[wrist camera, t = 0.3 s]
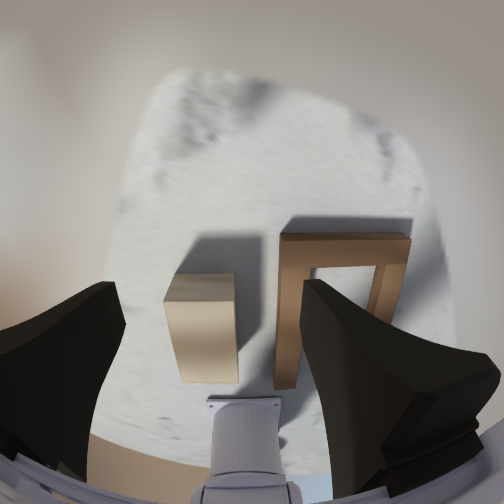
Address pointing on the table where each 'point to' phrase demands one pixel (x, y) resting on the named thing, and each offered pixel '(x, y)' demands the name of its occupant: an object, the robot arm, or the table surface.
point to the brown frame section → (322, 256)
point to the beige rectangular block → (204, 327)
